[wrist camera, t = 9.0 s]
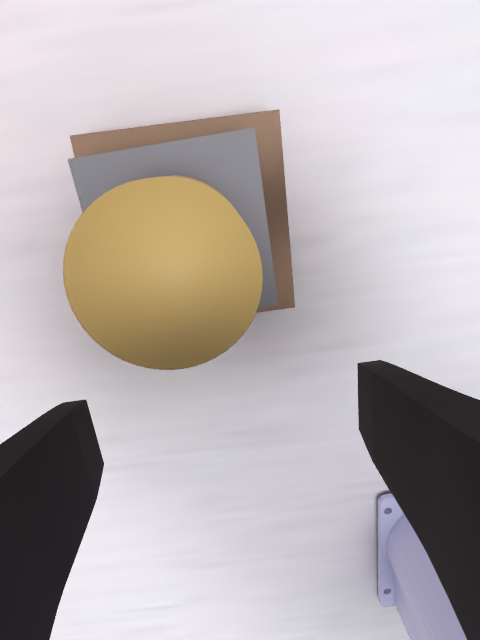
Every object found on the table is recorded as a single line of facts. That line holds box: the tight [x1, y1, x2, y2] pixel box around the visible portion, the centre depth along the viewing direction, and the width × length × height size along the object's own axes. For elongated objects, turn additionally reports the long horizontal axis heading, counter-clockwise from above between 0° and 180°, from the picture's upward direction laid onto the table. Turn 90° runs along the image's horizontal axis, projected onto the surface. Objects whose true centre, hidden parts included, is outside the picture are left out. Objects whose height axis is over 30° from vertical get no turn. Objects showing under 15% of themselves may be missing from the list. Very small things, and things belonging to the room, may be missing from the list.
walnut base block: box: [70, 110, 295, 312], centre depth 18 cm, size 8×8×3 cm
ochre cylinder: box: [63, 175, 263, 370], centre depth 12 cm, size 4×4×5 cm
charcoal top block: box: [68, 127, 278, 308], centre depth 15 cm, size 6×6×3 cm
